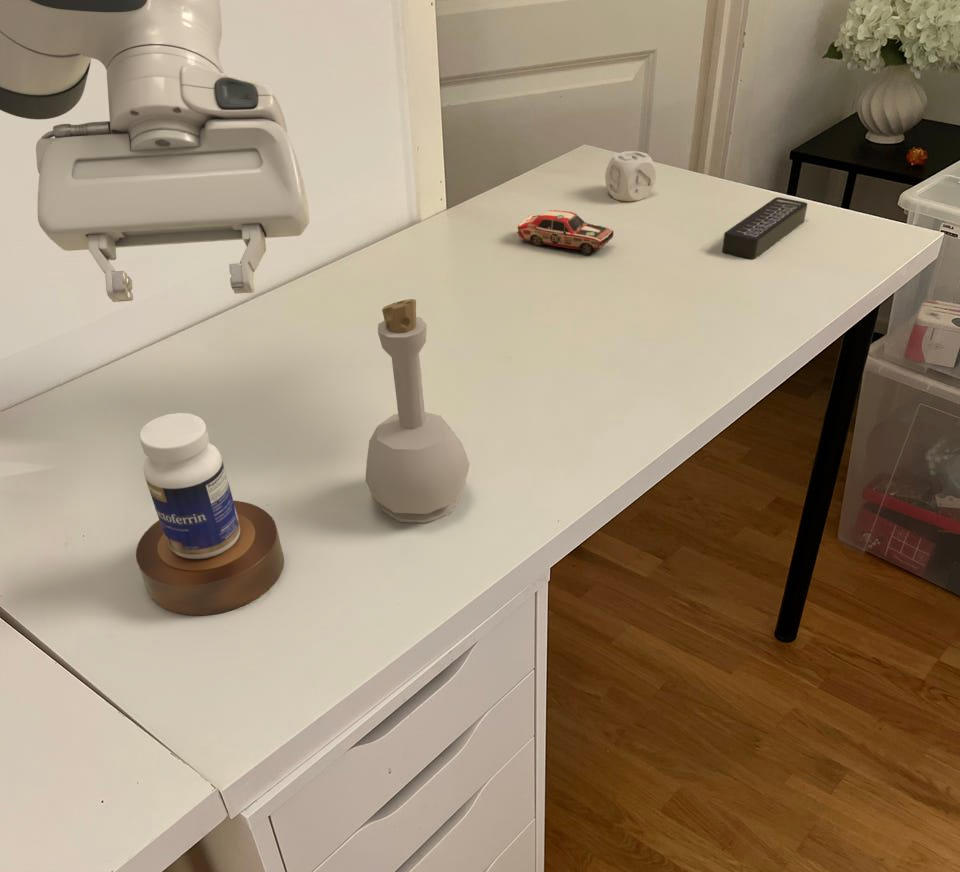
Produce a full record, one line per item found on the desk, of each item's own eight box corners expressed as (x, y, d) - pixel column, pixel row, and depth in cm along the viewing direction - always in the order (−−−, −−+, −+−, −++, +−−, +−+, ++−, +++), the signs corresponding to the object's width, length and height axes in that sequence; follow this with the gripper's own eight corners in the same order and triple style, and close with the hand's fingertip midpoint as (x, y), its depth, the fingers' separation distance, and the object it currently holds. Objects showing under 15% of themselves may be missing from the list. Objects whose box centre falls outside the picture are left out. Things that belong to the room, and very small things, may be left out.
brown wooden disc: (148, 628, 73) (136, 597, 71) (144, 544, 81) (134, 514, 79) (292, 598, 75) (285, 567, 73) (275, 518, 83) (268, 488, 81)
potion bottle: (414, 543, 79) (390, 337, 67) (350, 499, 84) (316, 300, 72) (492, 498, 83) (483, 296, 71) (426, 459, 88) (406, 264, 76)
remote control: (720, 252, 119) (722, 233, 117) (773, 214, 127) (776, 196, 125) (753, 259, 117) (756, 240, 115) (805, 220, 125) (808, 202, 123)
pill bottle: (155, 557, 75) (116, 446, 68) (188, 514, 79) (154, 405, 72) (223, 566, 73) (190, 454, 67) (253, 521, 77) (225, 411, 71)
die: (655, 196, 133) (657, 157, 130) (626, 204, 132) (628, 165, 128) (632, 186, 137) (634, 148, 133) (603, 194, 135) (605, 156, 131)
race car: (539, 242, 128) (534, 205, 125) (618, 244, 121) (614, 205, 118) (518, 255, 125) (512, 218, 122) (597, 258, 118) (593, 219, 115)
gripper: (15, 103, 71) (27, 287, 71) (292, 86, 72) (305, 269, 72) (52, 148, 78) (63, 318, 77) (306, 132, 78) (318, 301, 78)
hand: (181, 294), depth 74 cm, fingers open, 8 cm apart
